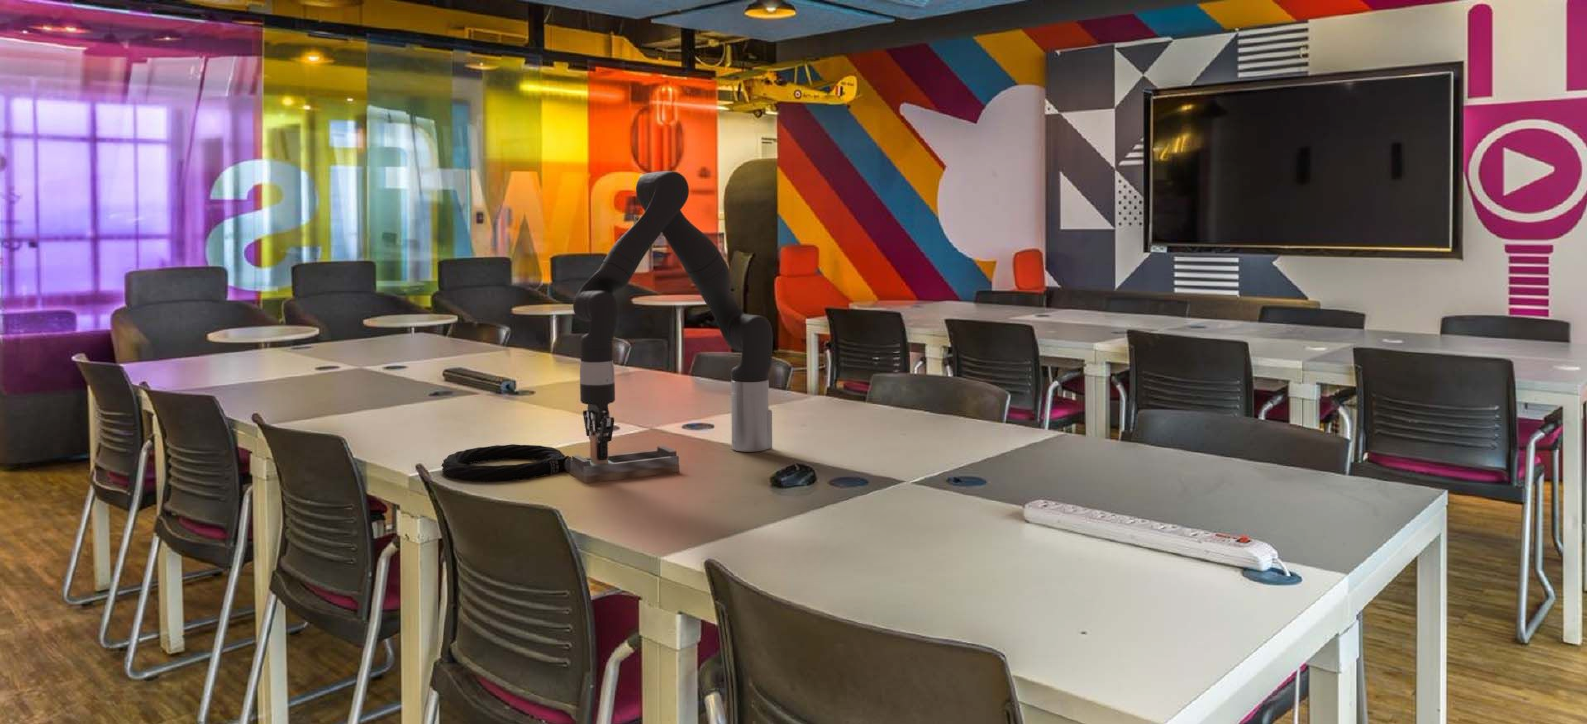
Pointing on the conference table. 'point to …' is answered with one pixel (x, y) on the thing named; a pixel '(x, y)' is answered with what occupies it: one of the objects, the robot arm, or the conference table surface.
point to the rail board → (626, 465)
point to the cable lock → (549, 464)
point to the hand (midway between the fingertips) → (599, 457)
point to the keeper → (594, 452)
